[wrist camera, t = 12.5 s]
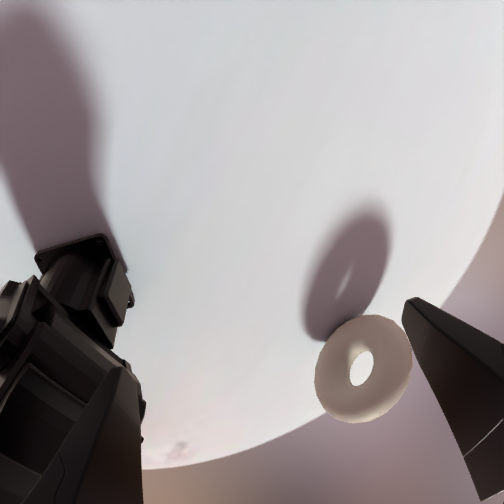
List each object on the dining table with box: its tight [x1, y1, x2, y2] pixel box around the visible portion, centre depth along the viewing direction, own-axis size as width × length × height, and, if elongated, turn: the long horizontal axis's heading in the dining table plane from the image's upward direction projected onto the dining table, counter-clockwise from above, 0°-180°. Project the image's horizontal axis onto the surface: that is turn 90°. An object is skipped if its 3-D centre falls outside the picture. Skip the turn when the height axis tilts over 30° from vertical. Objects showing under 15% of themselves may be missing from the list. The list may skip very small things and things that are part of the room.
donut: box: [314, 315, 412, 423], centre depth 25 cm, size 10×4×10 cm, turn 142°
